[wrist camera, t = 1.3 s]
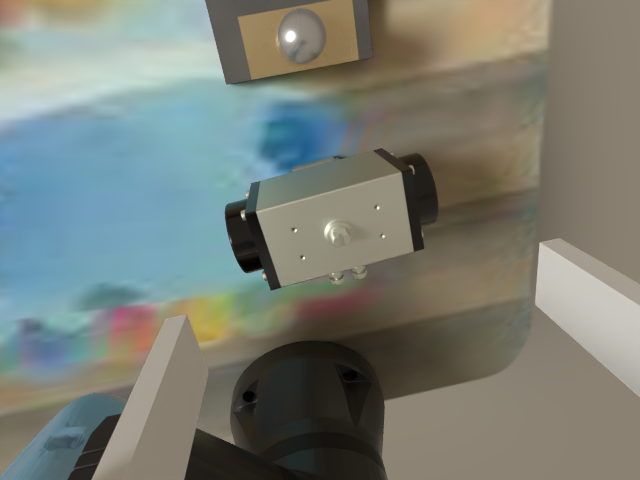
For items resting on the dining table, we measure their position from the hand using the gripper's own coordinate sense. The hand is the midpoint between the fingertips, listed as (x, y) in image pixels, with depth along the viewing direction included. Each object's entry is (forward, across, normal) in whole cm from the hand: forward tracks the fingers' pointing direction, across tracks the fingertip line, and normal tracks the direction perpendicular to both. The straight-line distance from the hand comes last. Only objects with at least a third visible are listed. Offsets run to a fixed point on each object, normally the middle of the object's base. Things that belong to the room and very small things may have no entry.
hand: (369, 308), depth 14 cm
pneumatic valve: (+18, 0, 0) cm, 18 cm away
